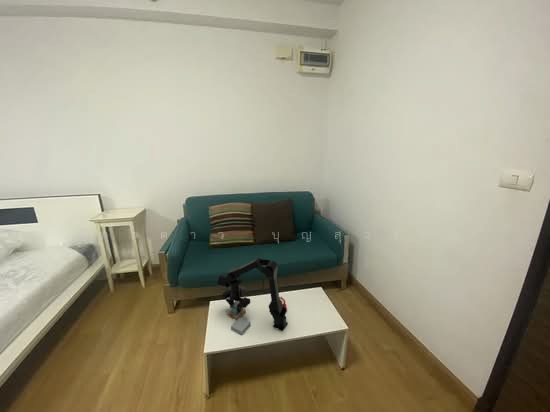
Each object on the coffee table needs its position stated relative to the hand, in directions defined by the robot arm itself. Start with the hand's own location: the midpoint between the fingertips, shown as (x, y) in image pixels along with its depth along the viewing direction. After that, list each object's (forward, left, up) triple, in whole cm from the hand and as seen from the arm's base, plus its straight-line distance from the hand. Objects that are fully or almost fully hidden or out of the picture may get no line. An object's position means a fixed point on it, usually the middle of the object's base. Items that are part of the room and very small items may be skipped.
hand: (236, 310), depth 142 cm
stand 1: (0, 0, -3) cm, 3 cm away
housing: (0, 0, -1) cm, 1 cm away
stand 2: (-9, +7, -3) cm, 12 cm away
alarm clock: (-20, -18, -4) cm, 27 cm away
